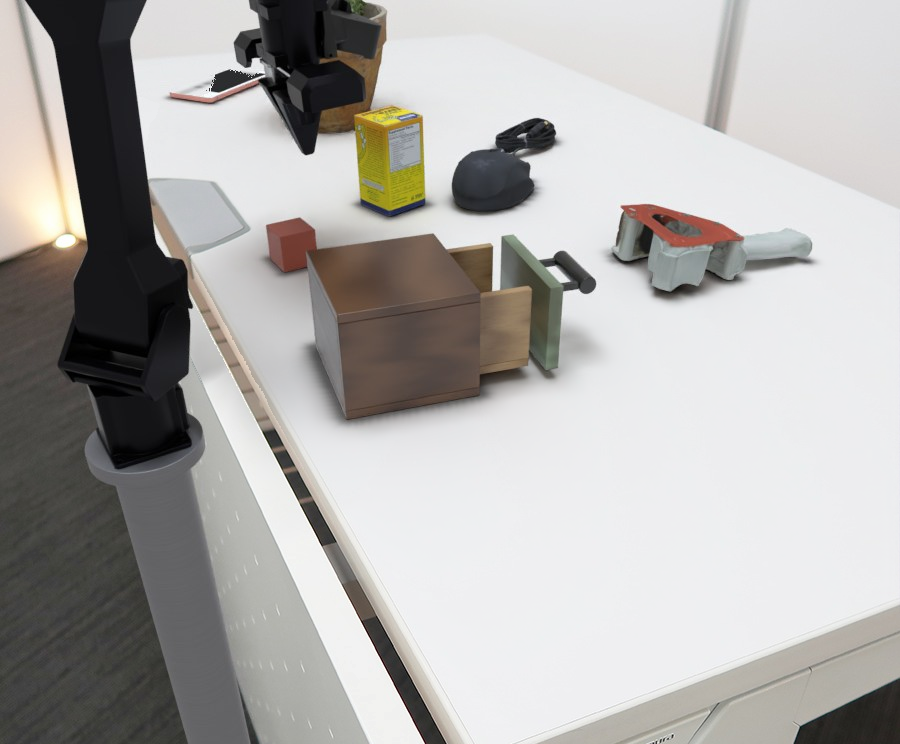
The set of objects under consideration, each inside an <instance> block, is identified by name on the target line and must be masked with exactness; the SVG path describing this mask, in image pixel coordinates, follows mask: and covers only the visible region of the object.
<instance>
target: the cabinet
mask: <svg viewBox="0 0 900 744" xmlns="http://www.w3.org/2000/svg"><path fill="white" fill-rule="evenodd" d="M446 249H447V248H446V247H445V246H444V245H443V243H442V242H441V241H440V239H439V238H438V237H437V236H436V234H435V233H433V232H432V233H425V234H419V235H410V236H403V237H397V238H389V239H382V240H375V241H368V242H359V243H353V244H344V245H337V246H331V247H330V246H329V247H324V248H323V247H322V248H317V249H315V250H308V251H306V257H307V267H306V268H307V274H308V276H307V277H308V284H309V294H310V303H311V304H310V305H311V313H312V314H311V315H312V320H313V322H312V323H313V332H314V340H315V341H314V342H315V348H316V350H317V353H318V355H319V358H320V360H321V362H322V365H323V367H324V370H325V372H326V375H327V377H328V379H329V382H330V384H331V386H332V389H333V391H334V393H335V395H336V399H337V401H338V403H339V406H340V407H341V410H342V412H343V415H344V417H345V420H352V419H358V418H362V417H368V416H372V415H373V416H374V415H379V414H383V413H390V412H396V411H400V410H406V409H411V408H416V407H423V406H427V405H433V404H439V403H443V402H449V401H455V400H460V399H465V398H466V399H467V398H470V397H475V396H480V388H481V387H480V386H481V385H480V383H481V382H480V380H481V379H480V378H481V377H480V376H481V374H480V308H481V302H480V300H481V293H480V292H479V290H478V289H477V288H476V286H475V285H474V284H473V283H472V281H471V280H470V279H469V278H468V276H467V275H466V274H465V273H464V271H463V270H462V269H461V267H460V266H459V265H458V264H457V262H456V261H455V260H454V259H453V257H452V256H451V255H450V254H449V252H448V251H447V250H446Z"/></svg>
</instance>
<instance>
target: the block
mask: <svg viewBox="0 0 900 744" xmlns="http://www.w3.org/2000/svg"><path fill="white" fill-rule="evenodd" d="M265 230H266V238H267V245H268V252H269V260H270V261H271V262H272V263H274V264H275V265H276V266H277V267H278V268H279V269H280V270H281V271H282V272H283V273H288V272H293V271H296V270H300V269H303V268H304V269H305V268H308V267H307V257H306V251H308V250H315V249H318V246H317V238H316V237H317V235H316V228H314V227H312V226H311V224H309V223H308V222H306V221H305V220H304V219H303V218H301V217H300V216H299V217H294V218H291V219H290V218H289V219H285V220H281V221H277V222H272V223H268V224H265Z"/></svg>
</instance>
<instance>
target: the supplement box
mask: <svg viewBox="0 0 900 744" xmlns="http://www.w3.org/2000/svg"><path fill="white" fill-rule="evenodd" d="M354 120H355V130H354V133H355V145H356V146H355V147H356V159H357V173H358V175H357V176H358V185H359V186H358V187H359V188H358V189H359V200H360V205H361V206H363V207H366V208H368V209H371V210H372V211H375V212H377V213H380V214H382V215H385V216H387V217H392V216H395V215H397V214H398V215H399V214H400V213H403V212H406V211H409V210H411V209H415V208H418V207H420V206H424V205H426V176H425V174H426V173H425V172H426V171H425V149H424V148H425V147H424V145H425V144H424V143H425V142H424V116H423V114H422V113H419V112H416V111H412V110H409V109H406V108H403V107H401V106H396V105H393V104H392V105H387V106H384V107H379V108H377V109H372V110H370V111H369V112H365V113H361V114H357V115H354Z"/></svg>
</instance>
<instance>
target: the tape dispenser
mask: <svg viewBox="0 0 900 744" xmlns="http://www.w3.org/2000/svg"><path fill="white" fill-rule="evenodd" d="M620 209H621V210H623V211H622V213H621V215H620V218H619V223H618V231H617V233H616V238H615V239H616V240H615V245H612V246H611V251H612V252H613V253H614V254H615V255H616V256H617V258H619V260H621V261H624V262H625V261H627V262H631V261H635V260H638V259H642V258H647V257H648V259H647V271H650V272H652V280H651V286H652V287H654V288H657V289H658V290H663V291H667V292H672V291H674V290H675V289H676V288H679V287H680V285H685V284H689V285H693V286H696V287H699V286H700V284H701V282H702V280H703V278H704V276H705V273H706V270H707V271H710V272H711V273H713V274H714V273H715V275H716V276H718V277H720V278H722V279H724V280H727V281H732V280H734V278H735V276H737V275H738V274H741V272H743V271H744V270H745V266H746V263H747V261H755V260H756V261H758V260H760V261H761V260H771V259H781V258H792V257H793V258H797V259H806V258H807V257H809V256H810V254H811V253H812V251H813V241H812V238H810V237H809V236H808V235H807V234H805V233H802V232H800V231H798V230H796V229H793V228H792V227H791V228H790V227H785V228H783V229H782V230H780V231H770V232H764V233H755V234H751V235H750V234H748V235H741V234H740V233H738V232H736V231H735V230H733V229H732V228H730V227H728V226H726V225H725V224H723V223H721V222H719V221H714V220H711V219H707V218H705V217H701V216H697V215H693V214H691V213H690V214H689V213H686V212H682V211H678V210H675V209H674V210H673V209H670V208H667V207H663V206H660V205H657V204H651V203H639V204H626V205H625V204H621V205H620Z"/></svg>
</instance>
